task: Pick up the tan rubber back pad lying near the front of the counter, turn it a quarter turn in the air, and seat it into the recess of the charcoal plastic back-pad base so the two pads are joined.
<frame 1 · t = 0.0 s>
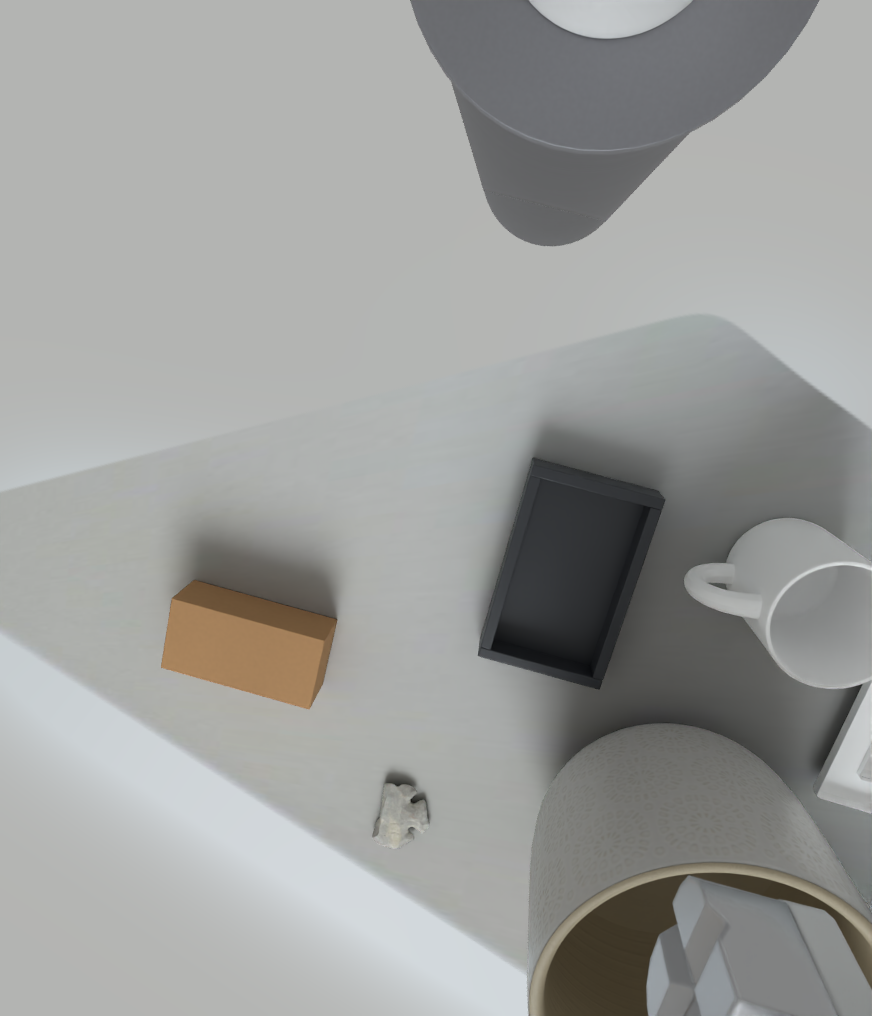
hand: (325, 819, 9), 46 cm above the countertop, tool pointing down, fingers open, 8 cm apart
planter: (654, 801, 60), on the countertop
pad base: (565, 569, 56), on the countertop
stone: (430, 815, 62), on the countertop
mug: (753, 565, 54), on the countertop
pad: (258, 632, 60), on the countertop
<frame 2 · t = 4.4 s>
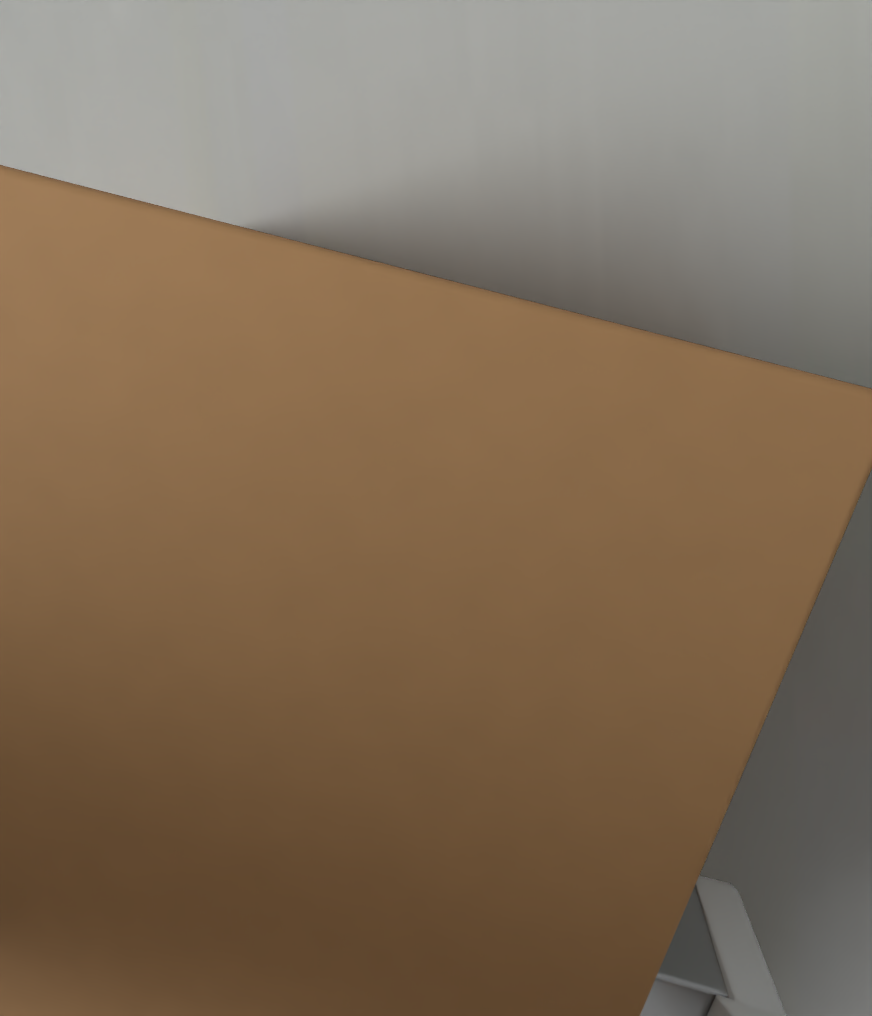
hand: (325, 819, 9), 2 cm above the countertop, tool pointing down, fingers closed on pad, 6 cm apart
pad: (360, 736, 10), on the countertop, touching gripper
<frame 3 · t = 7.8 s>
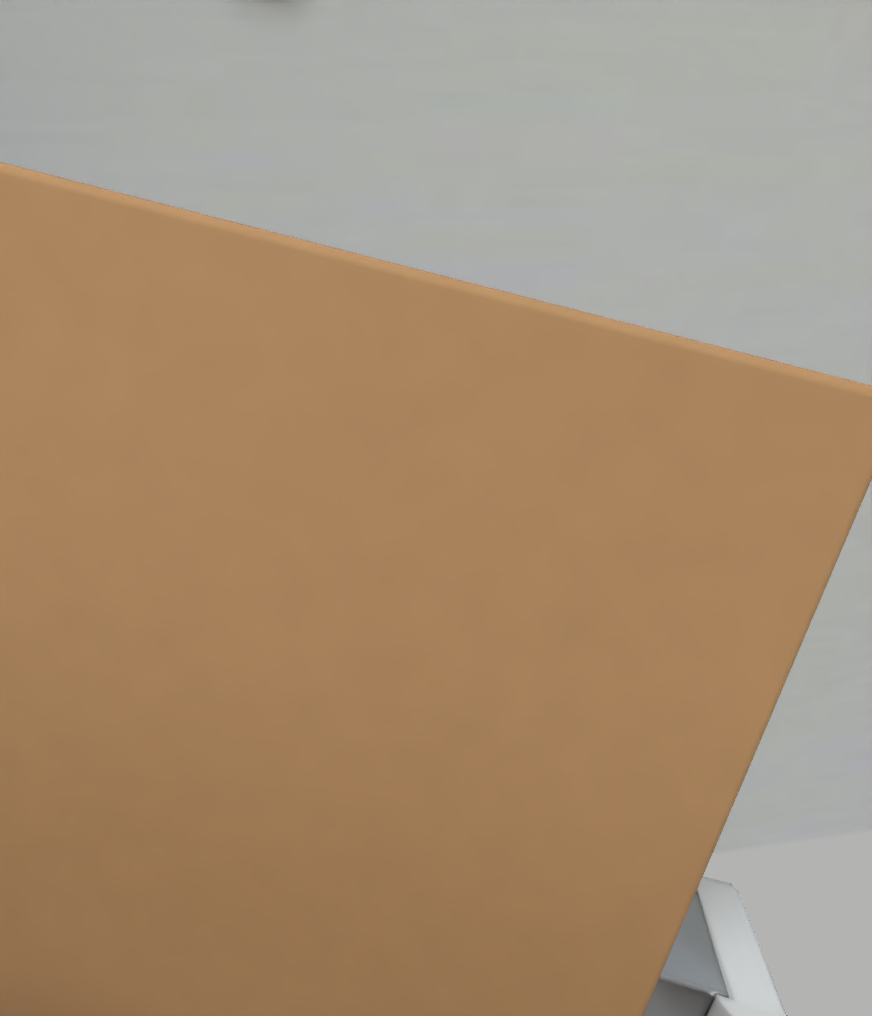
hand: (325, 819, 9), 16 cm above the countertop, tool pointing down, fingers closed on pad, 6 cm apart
pad: (362, 735, 10), point 15 cm above the countertop, touching gripper
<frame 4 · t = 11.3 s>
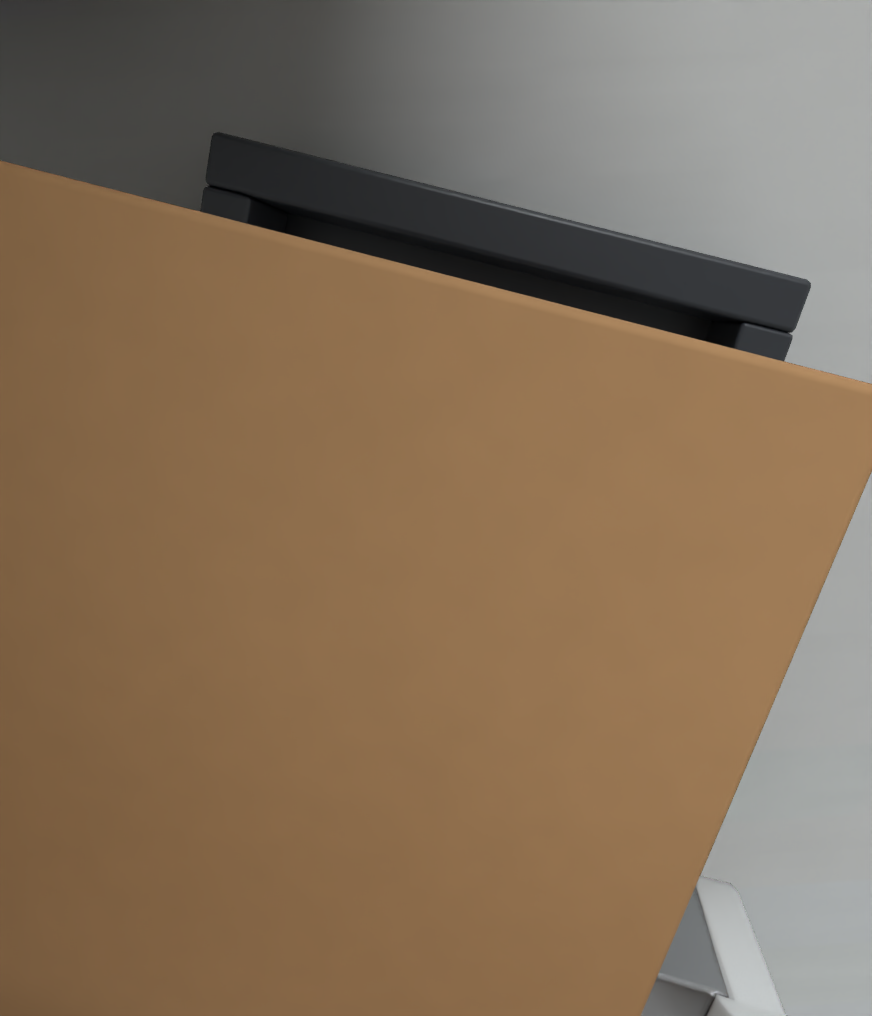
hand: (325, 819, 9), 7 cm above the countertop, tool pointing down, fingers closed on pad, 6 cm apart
pad base: (414, 595, 16), on the countertop
pad: (360, 735, 10), point 6 cm above the countertop, touching gripper
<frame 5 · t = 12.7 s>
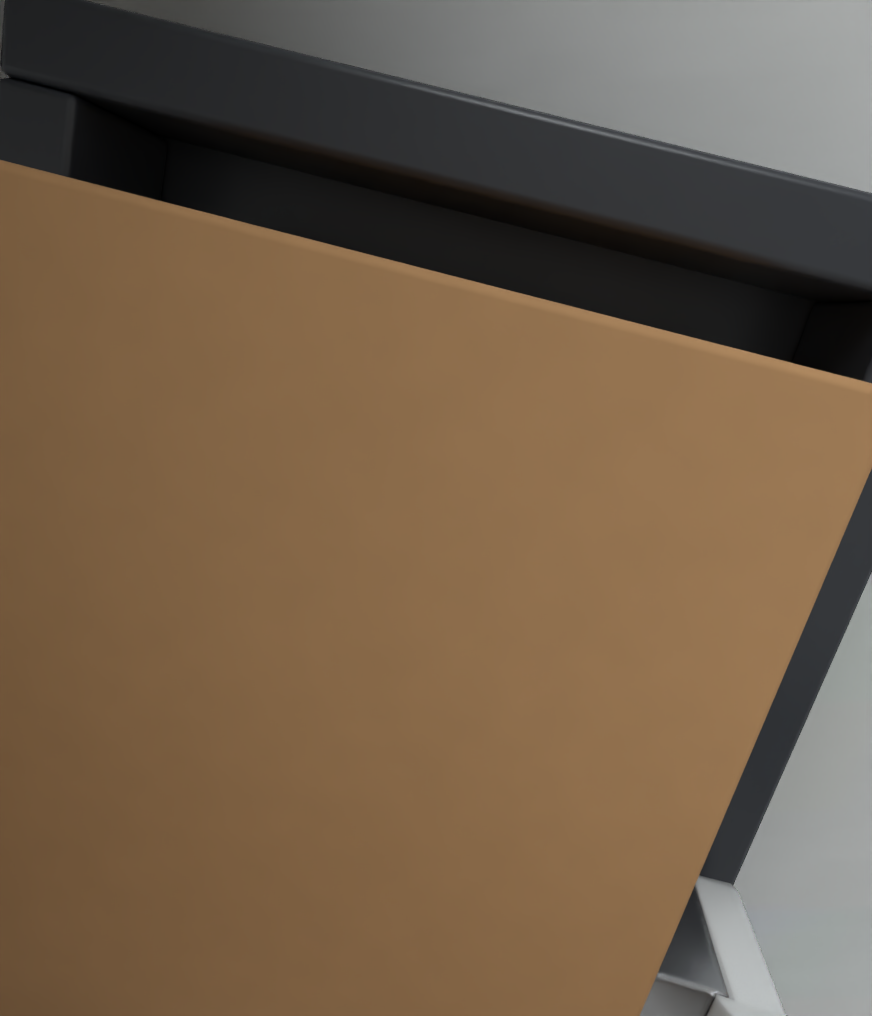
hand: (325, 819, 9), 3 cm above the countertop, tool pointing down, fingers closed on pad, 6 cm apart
pad base: (372, 692, 11), on the countertop
pad: (360, 734, 10), point 1 cm above the countertop, touching gripper
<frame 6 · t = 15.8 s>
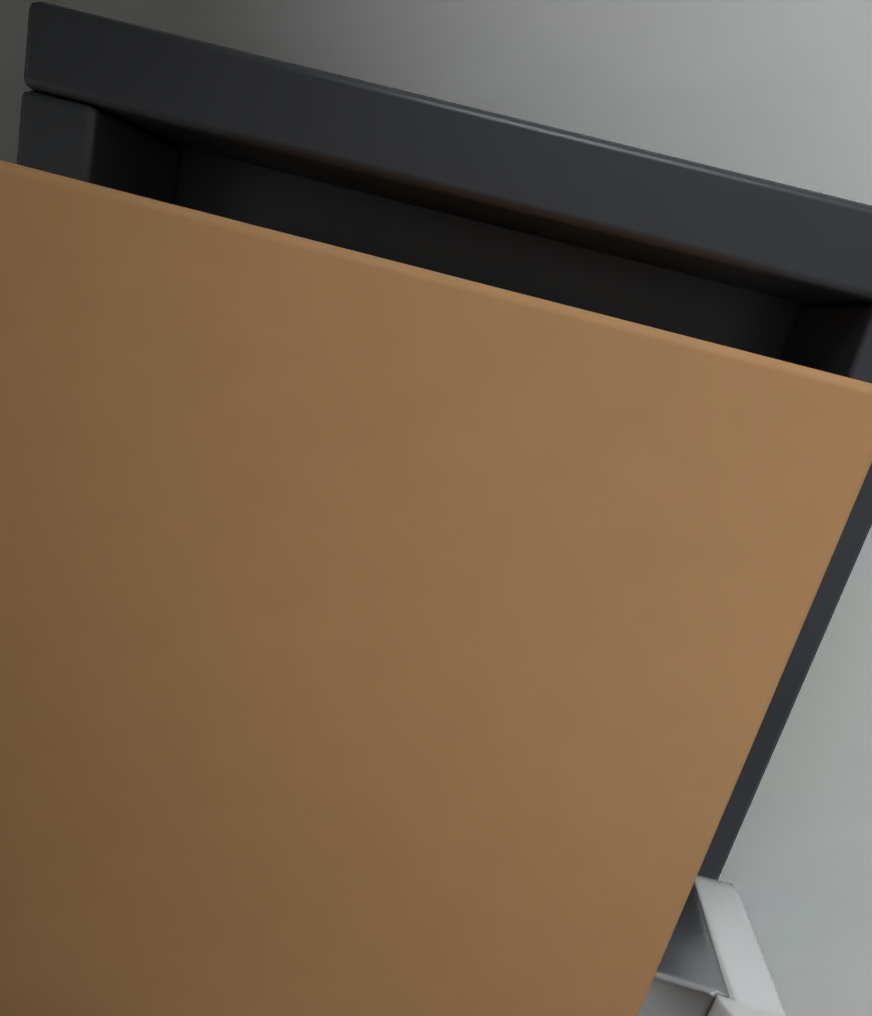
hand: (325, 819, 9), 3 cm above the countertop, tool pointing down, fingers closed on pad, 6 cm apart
pad base: (376, 682, 12), on the countertop
pad: (359, 734, 10), point 1 cm above the countertop, touching gripper
when the fingers open (3 cm above the countertop, at t = 18.6 s): pad stays where it is, resting on pad base.
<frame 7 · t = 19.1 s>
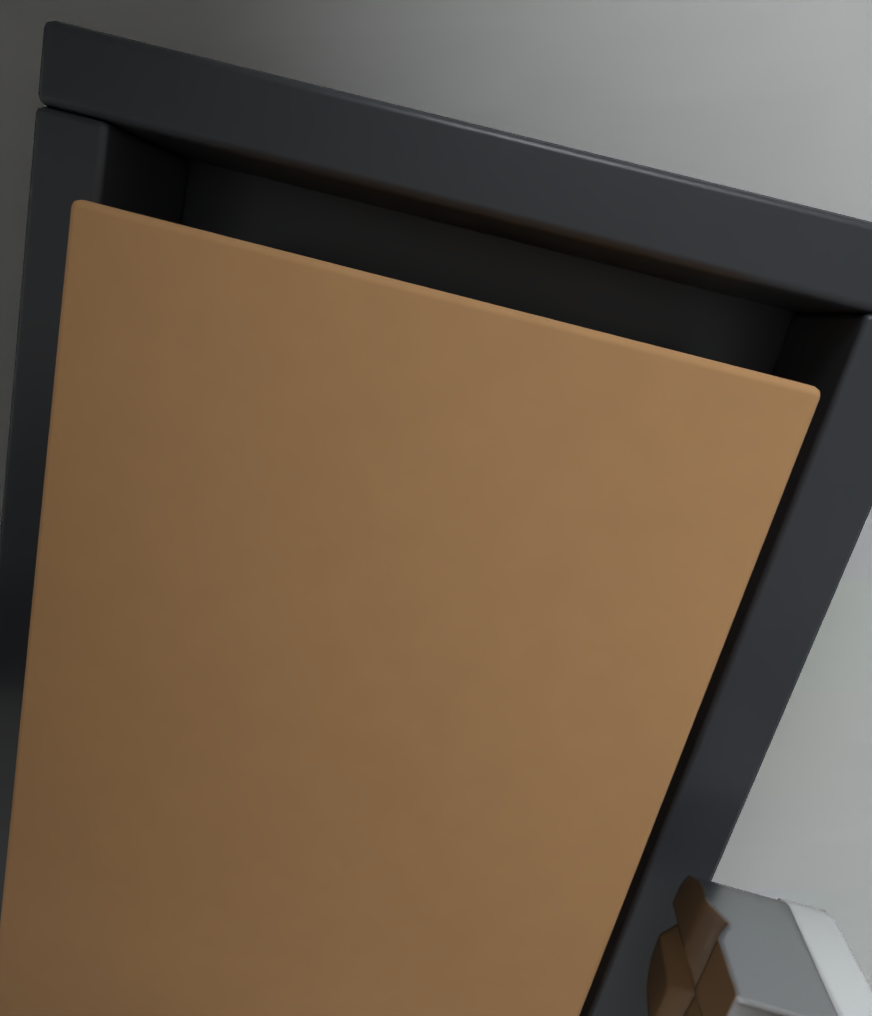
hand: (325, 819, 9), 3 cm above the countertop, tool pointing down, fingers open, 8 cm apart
pad base: (378, 682, 12), on the countertop
pad: (371, 702, 11), point 1 cm above the countertop, touching pad base
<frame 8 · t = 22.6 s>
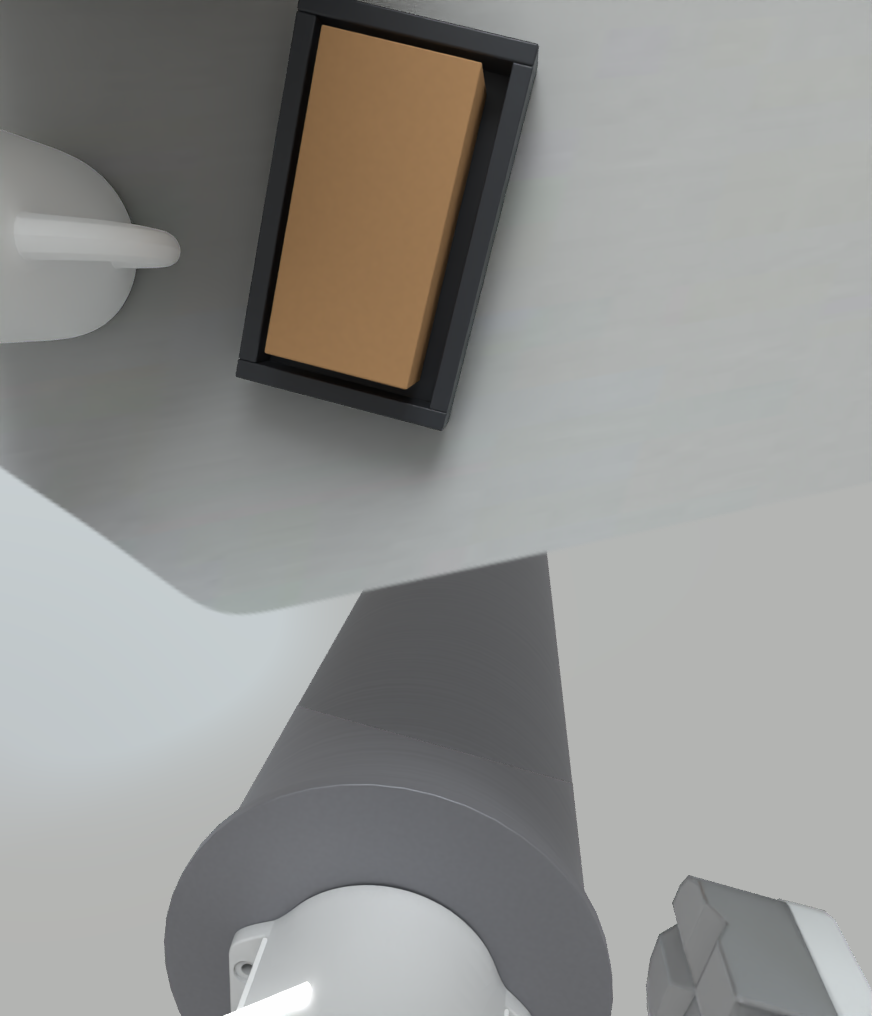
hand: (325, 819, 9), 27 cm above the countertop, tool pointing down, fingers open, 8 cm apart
pad base: (386, 229, 33), on the countertop
mug: (99, 251, 34), on the countertop
pad: (384, 228, 32), point 1 cm above the countertop, touching pad base
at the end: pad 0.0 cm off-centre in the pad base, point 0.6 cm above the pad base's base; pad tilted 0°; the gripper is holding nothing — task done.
